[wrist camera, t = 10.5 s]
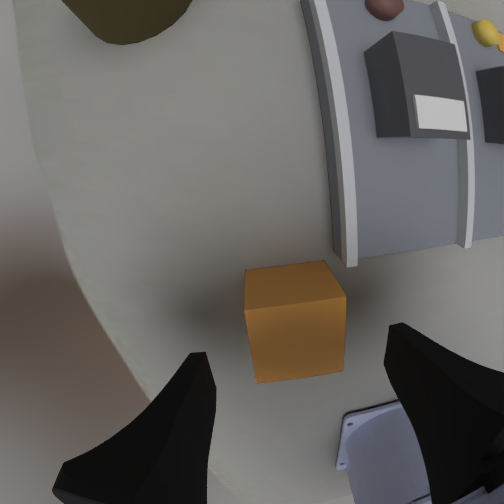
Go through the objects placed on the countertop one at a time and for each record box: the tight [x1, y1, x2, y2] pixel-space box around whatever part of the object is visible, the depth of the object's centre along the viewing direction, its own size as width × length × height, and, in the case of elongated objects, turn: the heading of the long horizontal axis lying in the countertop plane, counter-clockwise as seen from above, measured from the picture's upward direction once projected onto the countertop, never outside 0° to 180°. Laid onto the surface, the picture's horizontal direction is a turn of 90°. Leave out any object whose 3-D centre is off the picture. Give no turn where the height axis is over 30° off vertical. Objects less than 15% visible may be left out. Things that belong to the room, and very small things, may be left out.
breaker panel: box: [301, 0, 504, 268], centre depth 11 cm, size 13×14×2 cm
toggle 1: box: [363, 31, 471, 140], centre depth 9 cm, size 4×3×3 cm
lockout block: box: [244, 260, 346, 383], centre depth 14 cm, size 4×4×4 cm
